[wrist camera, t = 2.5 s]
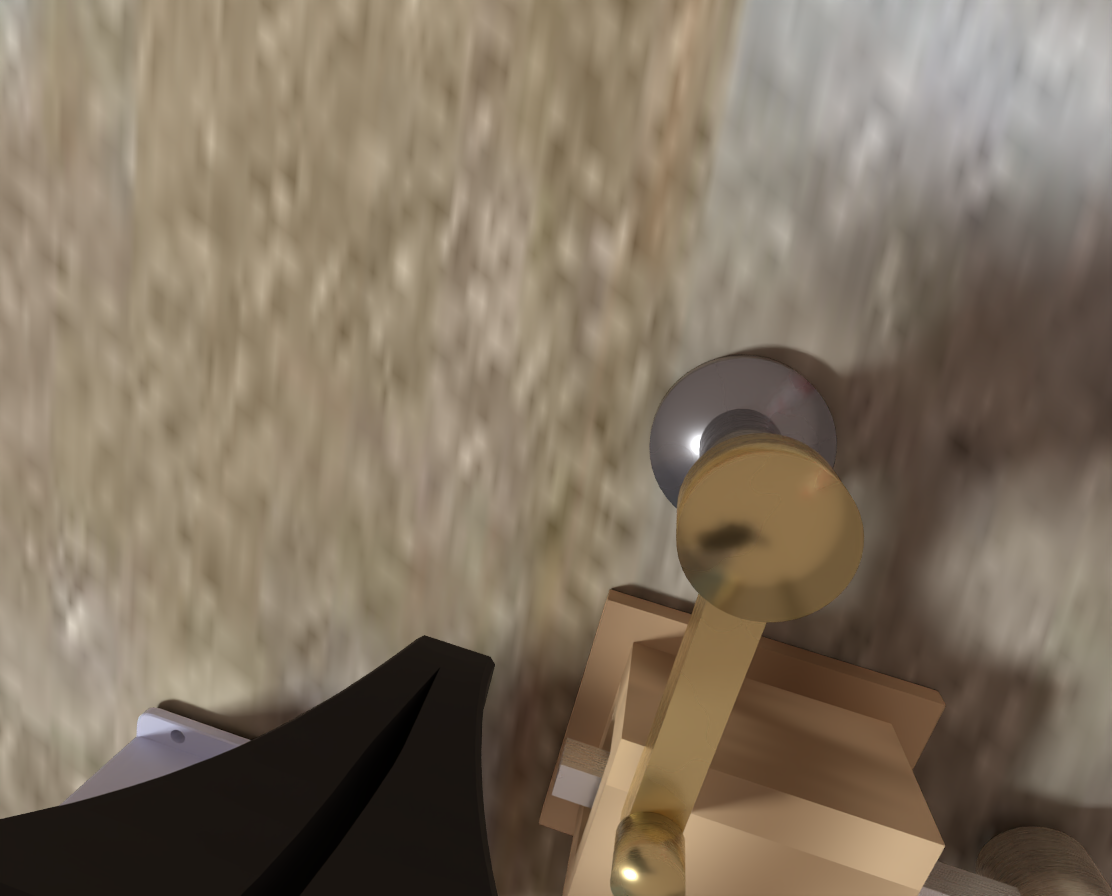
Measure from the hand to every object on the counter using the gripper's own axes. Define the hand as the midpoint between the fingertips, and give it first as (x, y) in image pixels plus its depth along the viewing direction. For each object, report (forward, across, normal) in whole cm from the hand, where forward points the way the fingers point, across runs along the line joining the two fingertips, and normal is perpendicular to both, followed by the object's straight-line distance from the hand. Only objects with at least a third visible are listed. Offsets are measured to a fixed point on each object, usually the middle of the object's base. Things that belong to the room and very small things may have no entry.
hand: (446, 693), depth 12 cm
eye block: (+7, -7, +5) cm, 11 cm away
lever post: (+7, -4, -4) cm, 9 cm away
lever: (+3, -5, -1) cm, 5 cm away
